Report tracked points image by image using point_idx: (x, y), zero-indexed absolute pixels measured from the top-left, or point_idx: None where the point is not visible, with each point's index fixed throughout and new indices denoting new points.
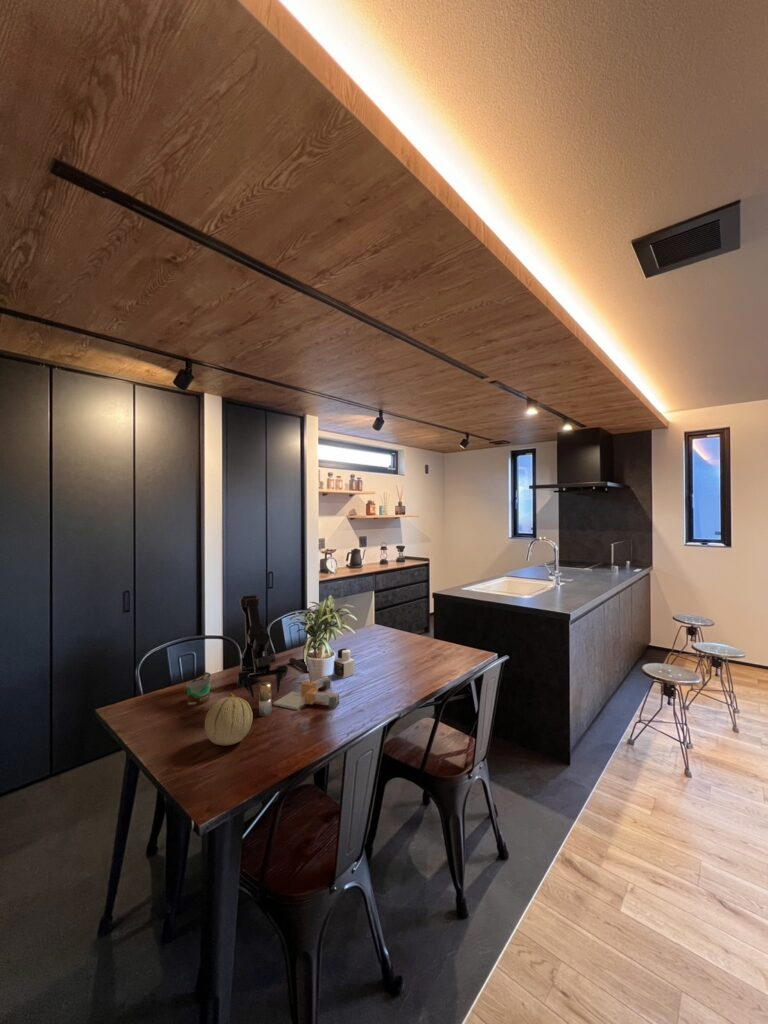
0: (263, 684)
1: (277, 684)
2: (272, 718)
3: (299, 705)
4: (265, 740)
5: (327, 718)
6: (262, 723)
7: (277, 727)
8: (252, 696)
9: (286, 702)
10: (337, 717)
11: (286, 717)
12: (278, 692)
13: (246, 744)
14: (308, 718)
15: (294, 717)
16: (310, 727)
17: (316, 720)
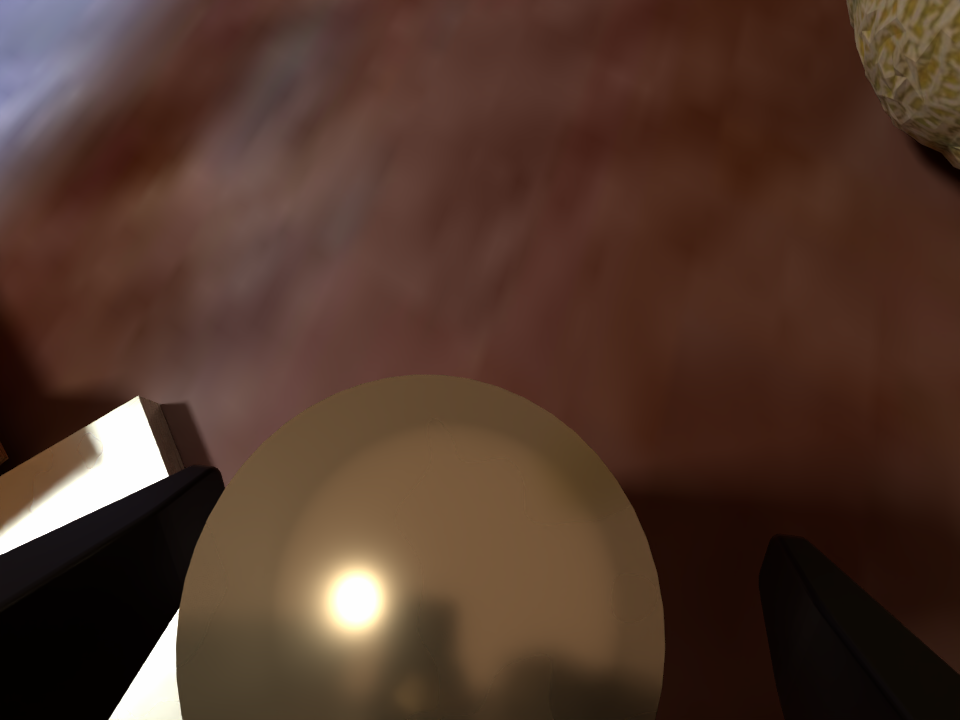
0: (473, 625)
1: (44, 569)
2: (470, 377)
3: (86, 451)
4: (661, 11)
5: (70, 109)
6: (606, 321)
7: (495, 164)
8: (814, 548)
9: (148, 663)
10: (5, 88)
11: (335, 315)
12: (200, 465)
13: (834, 18)
14: (184, 185)
15: (271, 271)
16: (262, 41)
17: (156, 120)
